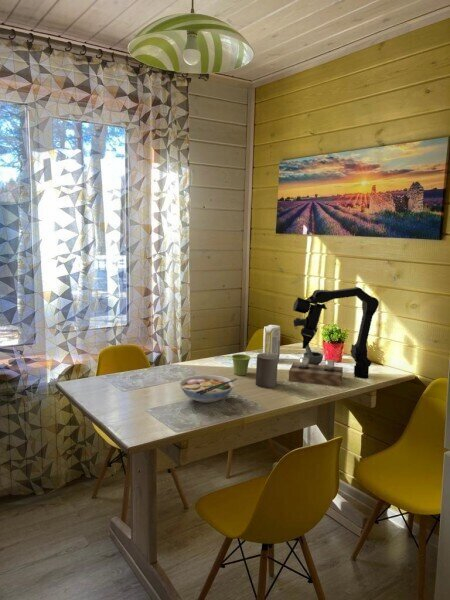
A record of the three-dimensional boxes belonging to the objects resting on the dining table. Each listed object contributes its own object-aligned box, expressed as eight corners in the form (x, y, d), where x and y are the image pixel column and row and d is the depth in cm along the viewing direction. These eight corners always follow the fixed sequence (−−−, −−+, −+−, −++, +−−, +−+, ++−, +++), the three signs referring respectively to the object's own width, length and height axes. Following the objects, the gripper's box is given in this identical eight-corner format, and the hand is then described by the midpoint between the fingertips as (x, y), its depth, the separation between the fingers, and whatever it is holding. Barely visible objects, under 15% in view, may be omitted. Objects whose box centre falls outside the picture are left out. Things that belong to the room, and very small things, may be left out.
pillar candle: (252, 385, 229) (253, 353, 227) (260, 379, 238) (262, 349, 236) (271, 389, 225) (273, 357, 223) (280, 383, 234) (281, 352, 231)
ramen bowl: (205, 386, 227) (206, 369, 225) (246, 399, 212) (247, 380, 211) (165, 401, 207) (165, 382, 206) (207, 415, 193) (207, 395, 192)
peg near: (333, 370, 240) (334, 360, 240) (333, 372, 237) (333, 362, 236) (325, 369, 242) (325, 359, 241) (324, 371, 238) (325, 361, 237)
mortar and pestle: (326, 367, 260) (327, 345, 258) (313, 371, 254) (315, 347, 252) (309, 362, 269) (310, 340, 267) (297, 365, 263) (298, 343, 261)
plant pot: (250, 371, 251) (251, 354, 250) (249, 377, 242) (250, 359, 240) (231, 370, 252) (232, 353, 250) (230, 376, 243) (230, 358, 241)
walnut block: (342, 377, 245) (342, 367, 244) (340, 386, 232) (341, 375, 231) (292, 372, 251) (293, 362, 250) (288, 380, 238) (289, 370, 237)
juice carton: (280, 360, 273) (282, 325, 270) (273, 363, 265) (275, 328, 262) (268, 357, 276) (269, 323, 273) (260, 361, 269) (262, 326, 266)
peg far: (308, 367, 244) (308, 357, 243) (307, 370, 240) (307, 360, 239) (300, 367, 245) (300, 357, 244) (299, 369, 241) (299, 359, 240)
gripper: (299, 309, 251) (291, 339, 253) (294, 312, 233) (285, 344, 235) (321, 316, 249) (312, 346, 251) (318, 319, 231) (308, 352, 233)
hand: (304, 347), depth 242 cm, fingers open, 9 cm apart
